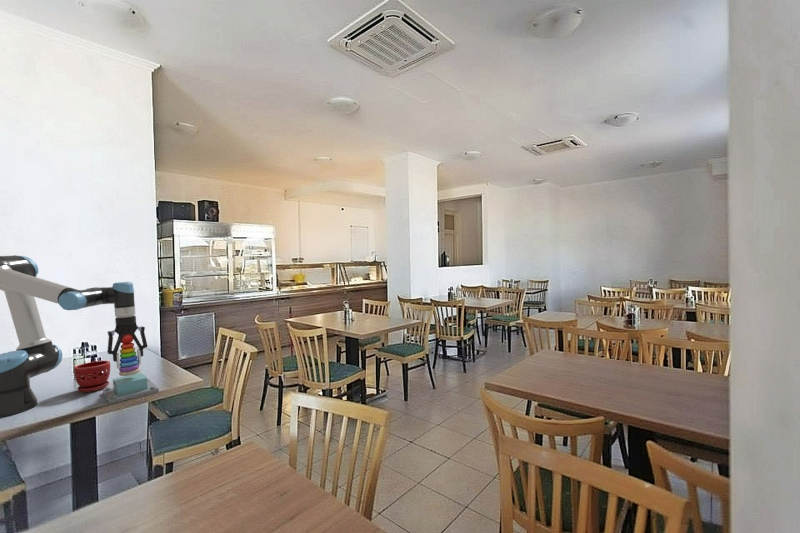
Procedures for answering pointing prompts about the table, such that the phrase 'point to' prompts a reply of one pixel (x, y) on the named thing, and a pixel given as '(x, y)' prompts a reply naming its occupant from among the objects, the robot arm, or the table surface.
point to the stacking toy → (128, 357)
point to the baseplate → (130, 395)
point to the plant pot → (92, 375)
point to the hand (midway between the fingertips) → (129, 365)
